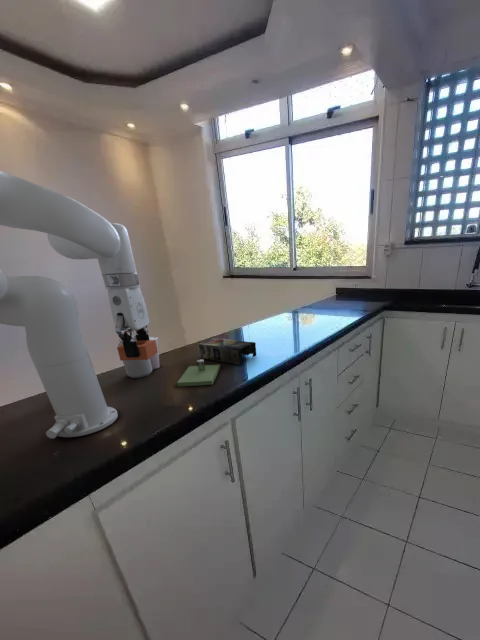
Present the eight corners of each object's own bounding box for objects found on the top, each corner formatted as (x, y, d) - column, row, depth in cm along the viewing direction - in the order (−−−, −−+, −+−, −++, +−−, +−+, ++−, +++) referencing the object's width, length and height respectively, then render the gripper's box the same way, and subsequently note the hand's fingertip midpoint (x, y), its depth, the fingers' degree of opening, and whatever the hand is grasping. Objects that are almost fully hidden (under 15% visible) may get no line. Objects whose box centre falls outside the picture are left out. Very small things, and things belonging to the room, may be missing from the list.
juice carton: (196, 358, 112) (193, 341, 109) (215, 351, 119) (213, 335, 117) (240, 366, 103) (238, 348, 100) (258, 358, 111) (256, 341, 108)
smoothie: (139, 369, 102) (128, 327, 97) (151, 364, 108) (142, 323, 102) (155, 370, 101) (146, 327, 95) (167, 365, 107) (159, 323, 101)
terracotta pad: (148, 359, 80) (145, 346, 78) (120, 360, 79) (116, 347, 78) (157, 352, 86) (155, 340, 85) (132, 353, 86) (129, 340, 84)
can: (157, 370, 102) (148, 334, 96) (145, 379, 95) (134, 341, 90) (136, 370, 103) (126, 334, 97) (122, 379, 96) (110, 341, 91)
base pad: (212, 384, 89) (210, 371, 88) (177, 386, 89) (174, 373, 87) (220, 367, 102) (218, 355, 100) (189, 369, 102) (187, 357, 100)
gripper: (121, 283, 67) (140, 362, 75) (150, 278, 83) (164, 344, 91) (85, 284, 67) (108, 363, 74) (122, 279, 83) (138, 345, 90)
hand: (139, 352), depth 82 cm, fingers closed on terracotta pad, 7 cm apart
